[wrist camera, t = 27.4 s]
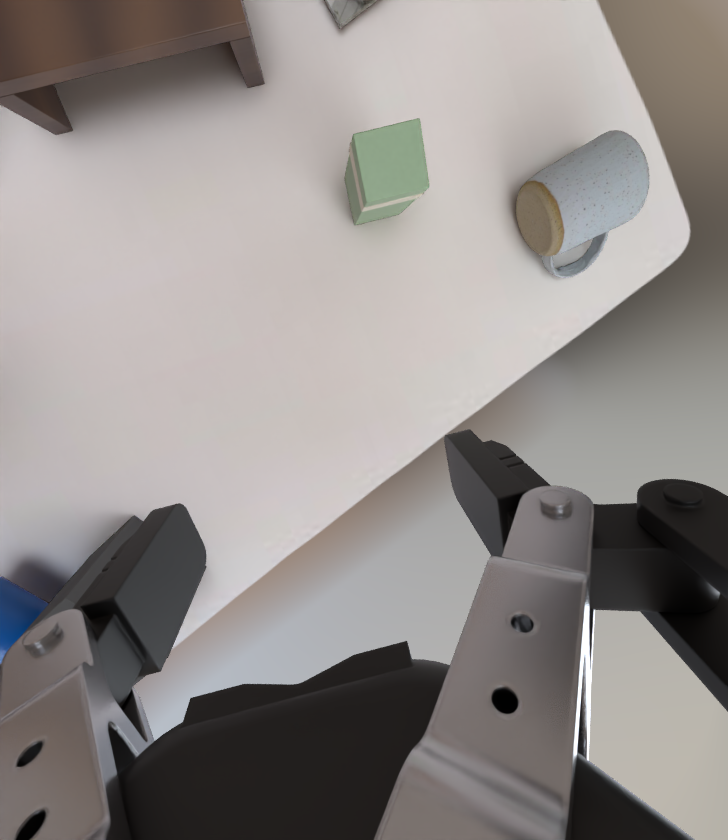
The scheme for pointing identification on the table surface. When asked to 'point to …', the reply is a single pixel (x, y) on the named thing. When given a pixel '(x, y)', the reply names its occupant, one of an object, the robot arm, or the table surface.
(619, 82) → the table surface
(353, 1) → the packaged product
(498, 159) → the table surface
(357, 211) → the box
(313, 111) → the table surface
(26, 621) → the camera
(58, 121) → the shelf stand
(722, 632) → the robot arm
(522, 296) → the table surface
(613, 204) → the ceramic mug
